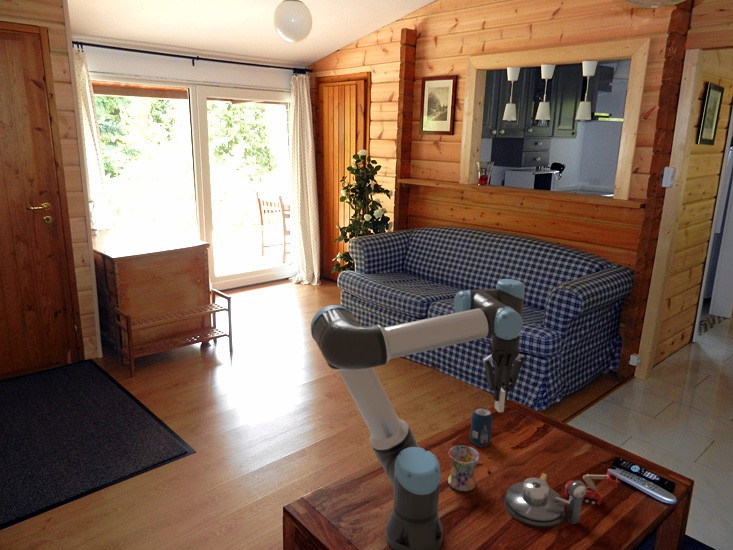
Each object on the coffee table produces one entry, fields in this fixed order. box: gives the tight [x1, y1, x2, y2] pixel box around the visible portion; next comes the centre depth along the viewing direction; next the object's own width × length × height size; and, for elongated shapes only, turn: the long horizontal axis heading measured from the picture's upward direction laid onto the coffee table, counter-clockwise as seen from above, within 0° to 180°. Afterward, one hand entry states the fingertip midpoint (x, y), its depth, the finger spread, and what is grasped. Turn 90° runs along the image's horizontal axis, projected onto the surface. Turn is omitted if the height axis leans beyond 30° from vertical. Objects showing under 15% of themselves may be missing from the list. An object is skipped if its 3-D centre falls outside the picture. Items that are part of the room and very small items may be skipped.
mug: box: [447, 445, 481, 492], centre depth 170 cm, size 12×9×11 cm
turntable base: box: [503, 492, 567, 529], centre depth 160 cm, size 17×17×1 cm
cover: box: [522, 477, 550, 507], centre depth 159 cm, size 7×7×5 cm
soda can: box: [469, 406, 493, 448], centre depth 192 cm, size 7×7×12 cm
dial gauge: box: [555, 479, 587, 525], centre depth 155 cm, size 6×5×13 cm
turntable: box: [506, 472, 566, 523], centre depth 160 cm, size 16×16×6 cm
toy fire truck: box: [564, 472, 619, 506], centre depth 163 cm, size 3×14×10 cm, turn 68°
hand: (498, 409), depth 162 cm, fingers closed
